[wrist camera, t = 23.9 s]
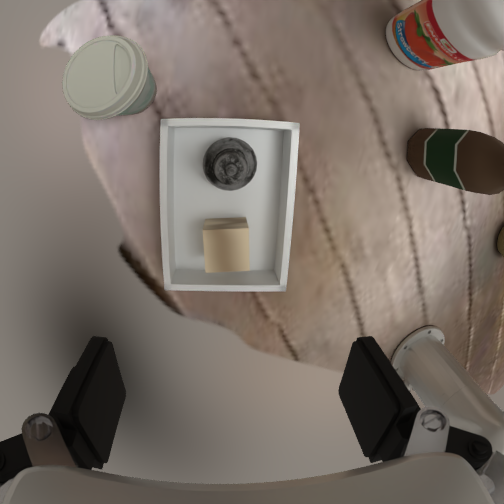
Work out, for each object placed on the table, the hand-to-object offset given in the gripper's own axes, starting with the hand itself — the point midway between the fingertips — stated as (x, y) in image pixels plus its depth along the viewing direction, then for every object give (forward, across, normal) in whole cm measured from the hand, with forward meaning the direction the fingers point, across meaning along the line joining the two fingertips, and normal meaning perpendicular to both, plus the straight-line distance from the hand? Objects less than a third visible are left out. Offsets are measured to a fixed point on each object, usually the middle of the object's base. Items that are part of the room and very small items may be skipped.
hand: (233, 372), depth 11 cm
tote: (+28, 0, -1) cm, 28 cm away
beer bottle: (+28, -28, -10) cm, 41 cm away
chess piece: (+28, 0, -6) cm, 29 cm away
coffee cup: (+28, +12, -15) cm, 34 cm away
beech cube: (+28, 0, +4) cm, 28 cm away
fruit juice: (+28, -25, -27) cm, 47 cm away
